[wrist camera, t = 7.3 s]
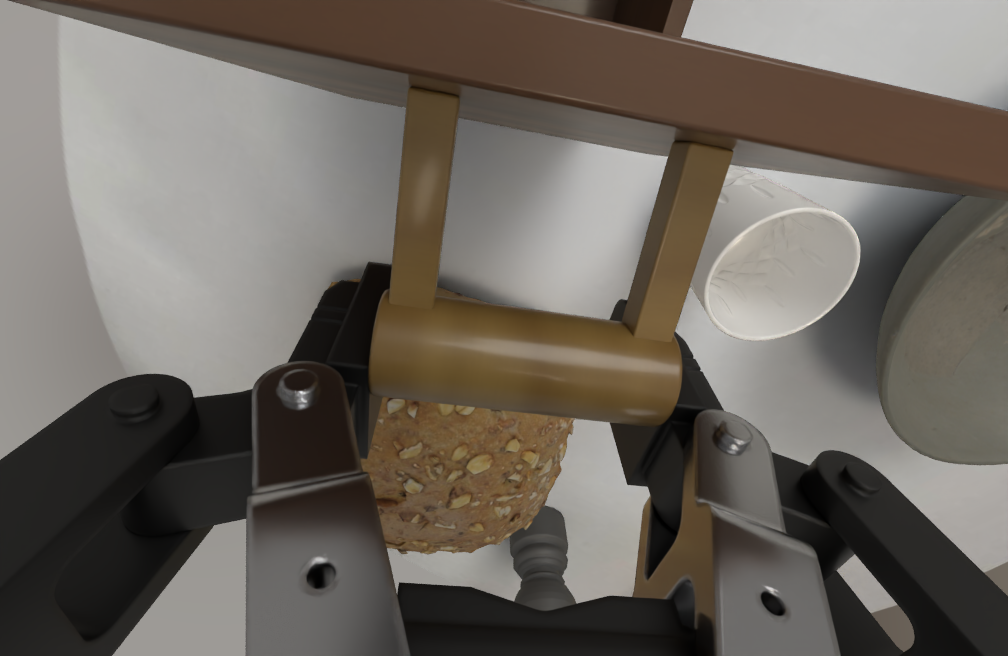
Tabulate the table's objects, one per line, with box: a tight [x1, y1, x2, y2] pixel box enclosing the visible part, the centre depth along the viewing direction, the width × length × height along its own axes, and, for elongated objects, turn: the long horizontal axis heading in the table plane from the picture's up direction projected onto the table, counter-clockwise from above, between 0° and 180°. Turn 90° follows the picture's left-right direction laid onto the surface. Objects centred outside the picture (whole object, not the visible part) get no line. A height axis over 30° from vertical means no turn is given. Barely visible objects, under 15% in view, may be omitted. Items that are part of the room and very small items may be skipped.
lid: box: [9, 0, 1008, 427], centre depth 13 cm, size 16×13×6 cm
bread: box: [321, 279, 575, 554], centre depth 37 cm, size 24×21×12 cm
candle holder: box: [510, 506, 576, 611], centre depth 43 cm, size 6×6×25 cm
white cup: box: [690, 165, 860, 341], centre depth 29 cm, size 8×8×10 cm
